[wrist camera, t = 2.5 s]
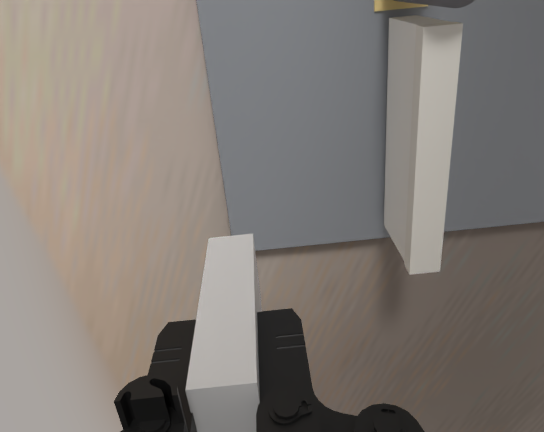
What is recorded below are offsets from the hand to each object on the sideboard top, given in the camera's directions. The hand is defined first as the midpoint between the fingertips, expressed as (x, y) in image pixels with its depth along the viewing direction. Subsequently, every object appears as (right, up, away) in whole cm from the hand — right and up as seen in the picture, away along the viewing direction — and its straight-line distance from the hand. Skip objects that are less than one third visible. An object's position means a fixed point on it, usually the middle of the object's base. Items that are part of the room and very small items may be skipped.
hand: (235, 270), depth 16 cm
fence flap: (+7, +6, +7) cm, 12 cm away
